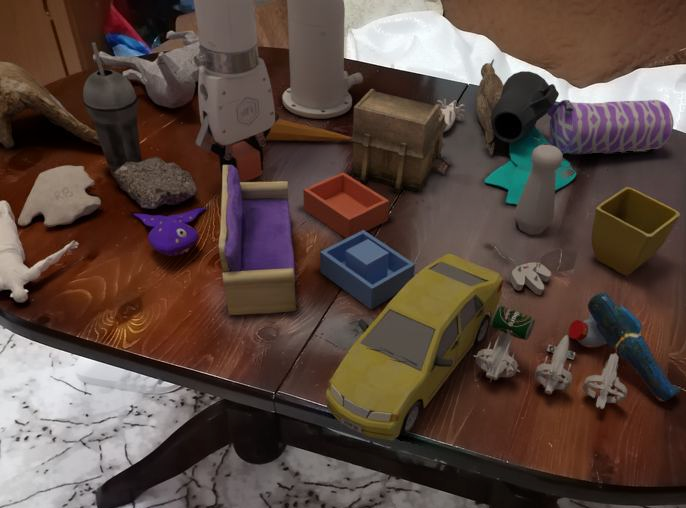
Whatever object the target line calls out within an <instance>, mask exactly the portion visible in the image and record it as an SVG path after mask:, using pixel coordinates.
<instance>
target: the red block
mask: <svg viewBox="0 0 686 508" xmlns="http://www.w3.org/2000/svg"><path fill="white" fill-rule="evenodd" d="M232 156H233V157H234V158H235V159H236V165H237V170H238V173H239V179H240V182H249V181H250V180H252V179H256V178H257V177H259V176H261V175H263V171H262V170H261V159H260V151H258V150H257V149H255V148H254V147H252V146H251V145H249V144H248V143H246V140H241V141H238V142H236V143H233V150H232Z"/></svg>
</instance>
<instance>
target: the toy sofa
mask: <svg viewBox="0 0 686 508" xmlns="http://www.w3.org/2000/svg"><path fill="white" fill-rule="evenodd" d="M221 175H222V177H221V178H222V185H221V187H222V188H221V205H220V227H219V228H220V230H219V239H218V253H219V259H220V265H221V270H222V273H221V277H222V278H221V279H222V285H223V288H224V294H225V301H226V307H227V313H228V315H229V316H239V315H257V314H258V315H259V314H275V313H276V314H277V313H285V312H286V313H289V312H296V310H297V305H296V304H297V303H296V287H295V283H296V273H295V271H296V270H295V253H294V246H293V239H292V238H293V237H292V220H291V213H290V211H291V210H290V201H289V184H288V181H245V182H240V179H239V173H238V170H237V169H236V168H235V167H234V166H233V165H223V168H222V172H221Z"/></svg>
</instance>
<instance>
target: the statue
mask: <svg viewBox="0 0 686 508" xmlns="http://www.w3.org/2000/svg"><path fill="white" fill-rule="evenodd" d="M165 39H168V40H171V41H175V40H179V39H183V40H182V45H183V46H180V47H177V48H175V49H172V50H170V51H167V52H164V51H160V52H159V53H158V54H157V58H156V59H154V61H151V60H148V59H144V58H141V57H138V56H113V55H110V54H109V53H106V52H104V51H98V53H99V57H100V60H101V64H102V66H109V67H124V68H125V67H127V68H130V69H127V70H123V71H122V73H121V74H122V75H123V76H124V77H125V78H126V79H127V80H131V81H140V82H141V84H143V85H144V87H145V90H146V93H147V95H148V97H149V98H150V99H151V100H152V102H153V103H155V104H156V105H158V106H161V107H165V108H169V109H175V108H179V107H183V106H185V105H186V104H188V103H189V102H191V101H193V97H194V95H195V91H196V83H198V79H199V68H200V67H201V66H199V67H198V66H197V65H196V64H195V62H194V56H197V55H198V54H200V49H199V46H200V42H199V35H198V34H195V31H193V30H192V29H191V30H184V31H178V32H175V31H173V30H169V31H168V32H166V35H165ZM92 61H93V62H95V63H97V60H96V57H95V53H93V54H92Z"/></svg>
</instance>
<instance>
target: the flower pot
mask: <svg viewBox="0 0 686 508" xmlns="http://www.w3.org/2000/svg"><path fill="white" fill-rule="evenodd" d="M679 217H681V212H679V211H677V210H676V209H674V208H673V207H671V206H668V205H667V204H665V203H663V202H661V201H659V200H657V199H655V198H653V197H650V196H649V195H647V194H644V192H641V191H638V190H637V189H634V188H632V187H629V186H626V187H624V188H622V189H621V190H619V191H618V192H617V193H615V194H614V195H612V196H610V197H609V198H608V199H605V200H604V201H603V202H601V203H600V204H599V205H597V206H596V208H595V213H594V220H593V225H592V231H591V246H592V250H593V254H594V255H595V258H596V259H597V261H599V262H600V263H602V264H604V265H605V266H607V267H609V268H611V269H612V270H614V271H616V272H618V273H619V274H620V275H623V276H629V275H630V274H631V273H632V272H634V271H635V270H636V269H637V268H639V267H640V266H641V265H643V264H644V263H645V262H646V261H648V260H649V259H651V257H653V256H654V255H655V254H656V253H657V252H658V251H659V250H660V249H661V247H662V246H663V245H664V244H665V242H666V241H667V240H668V237H669V235H670V233H671V232H672V230H673V228H674V227H675V225H676V223H677V221H678V220H679Z"/></svg>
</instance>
